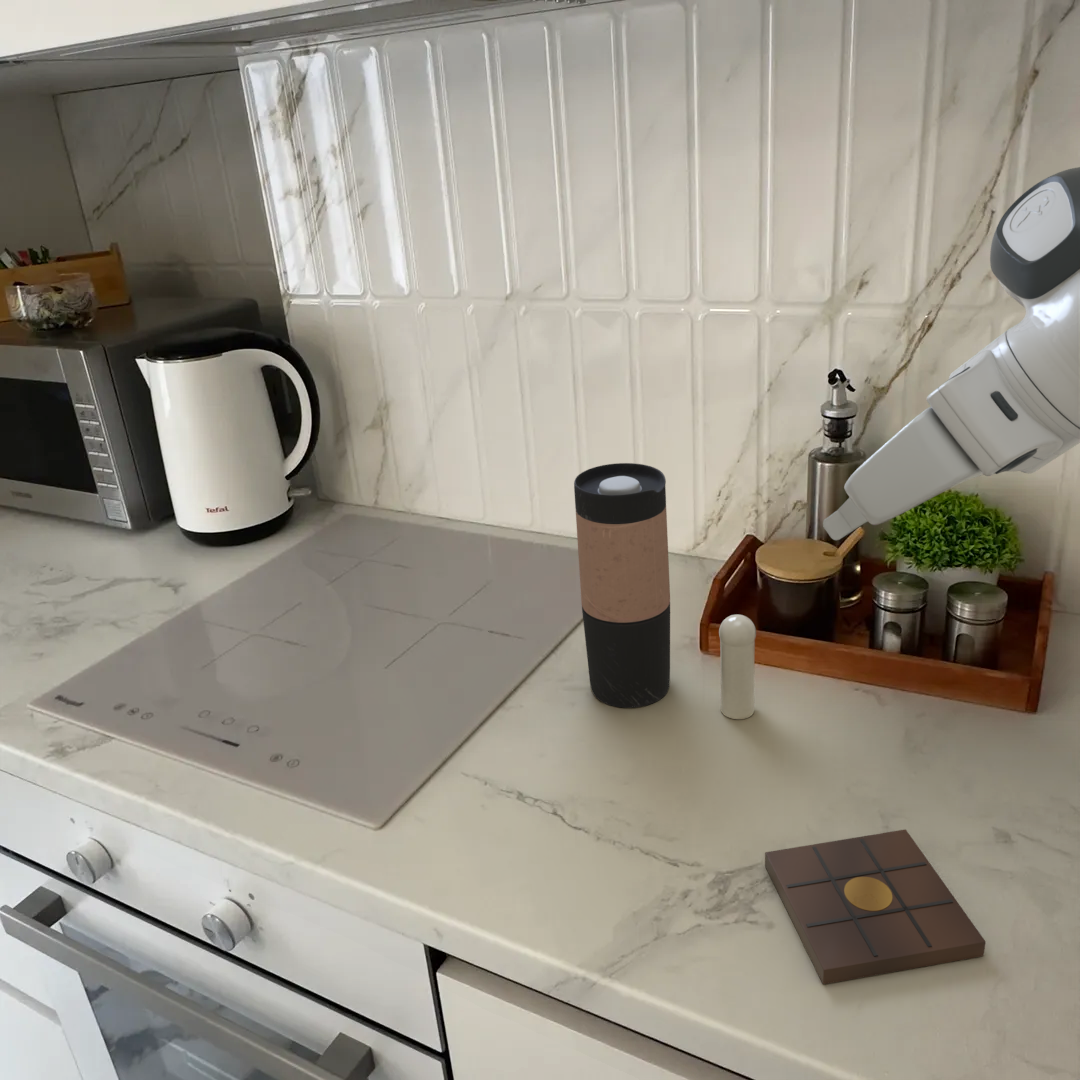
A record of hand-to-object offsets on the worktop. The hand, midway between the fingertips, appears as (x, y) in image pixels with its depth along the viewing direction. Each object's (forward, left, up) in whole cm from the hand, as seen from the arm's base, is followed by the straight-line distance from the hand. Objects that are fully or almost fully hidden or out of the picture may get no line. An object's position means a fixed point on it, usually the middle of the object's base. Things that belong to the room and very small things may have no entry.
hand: (855, 518), depth 75 cm
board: (+8, +21, -17) cm, 28 cm away
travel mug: (+17, -8, -17) cm, 25 cm away
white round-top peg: (+9, -2, -17) cm, 20 cm away
